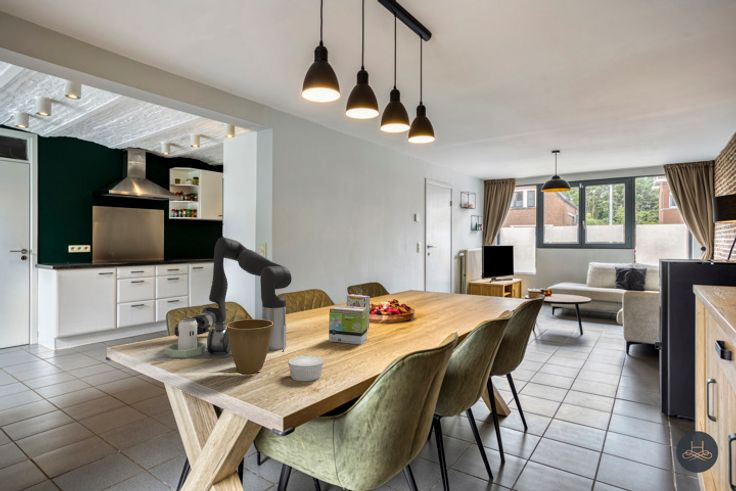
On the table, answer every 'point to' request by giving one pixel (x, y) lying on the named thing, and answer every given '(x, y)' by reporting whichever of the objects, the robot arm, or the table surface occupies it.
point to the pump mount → (192, 352)
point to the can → (187, 334)
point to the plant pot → (249, 343)
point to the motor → (218, 339)
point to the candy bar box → (359, 303)
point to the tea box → (348, 324)
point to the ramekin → (305, 368)
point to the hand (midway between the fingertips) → (183, 333)
